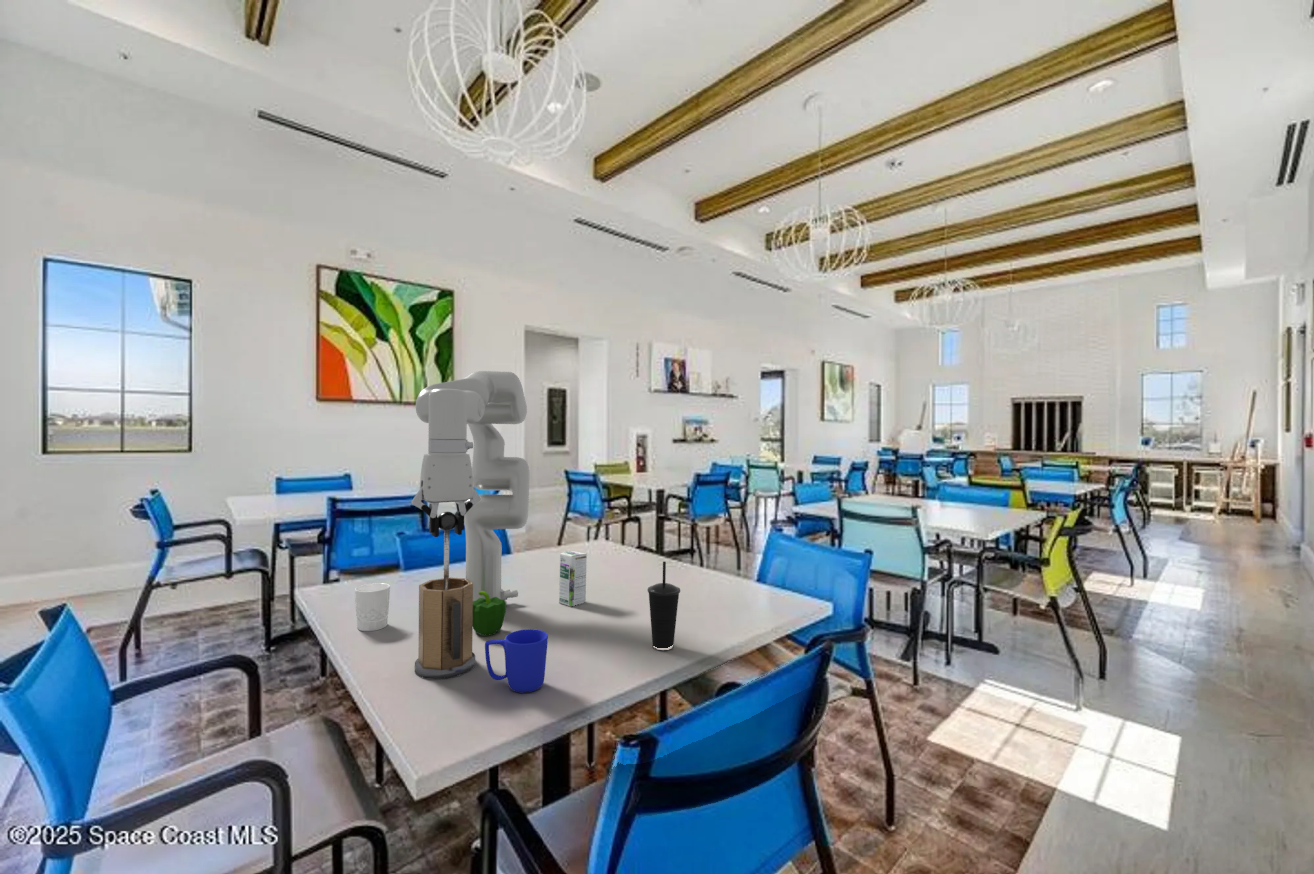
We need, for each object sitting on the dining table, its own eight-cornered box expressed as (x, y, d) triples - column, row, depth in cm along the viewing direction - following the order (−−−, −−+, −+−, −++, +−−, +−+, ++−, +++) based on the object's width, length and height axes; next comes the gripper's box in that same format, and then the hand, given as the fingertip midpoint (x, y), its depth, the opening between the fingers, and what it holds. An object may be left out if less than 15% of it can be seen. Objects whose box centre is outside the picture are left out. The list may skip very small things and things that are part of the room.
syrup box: (558, 603, 165) (558, 552, 164) (573, 598, 169) (574, 549, 169) (571, 607, 161) (571, 556, 161) (586, 602, 165) (587, 552, 165)
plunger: (459, 592, 125) (460, 508, 125) (469, 601, 119) (470, 512, 119) (422, 597, 121) (423, 510, 121) (431, 607, 115) (432, 515, 114)
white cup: (375, 633, 139) (375, 592, 138) (347, 630, 140) (347, 590, 140) (396, 622, 146) (396, 583, 146) (369, 620, 148) (369, 581, 148)
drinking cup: (655, 655, 128) (657, 567, 127) (641, 644, 135) (642, 559, 134) (685, 650, 131) (686, 563, 131) (669, 638, 138) (670, 556, 138)
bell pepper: (511, 632, 141) (512, 592, 140) (480, 641, 135) (481, 599, 135) (494, 623, 147) (494, 585, 146) (464, 631, 141) (464, 591, 141)
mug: (489, 678, 115) (489, 629, 115) (549, 677, 116) (550, 628, 116) (479, 697, 107) (480, 644, 107) (545, 696, 108) (545, 643, 108)
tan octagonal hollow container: (465, 651, 129) (466, 573, 128) (486, 673, 117) (487, 589, 117) (409, 662, 122) (409, 581, 122) (424, 688, 110) (425, 598, 110)
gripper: (481, 446, 127) (480, 528, 128) (400, 447, 118) (400, 535, 118) (492, 448, 121) (491, 534, 122) (408, 449, 112) (407, 542, 112)
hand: (446, 533), depth 120 cm, fingers closed on plunger, 4 cm apart
